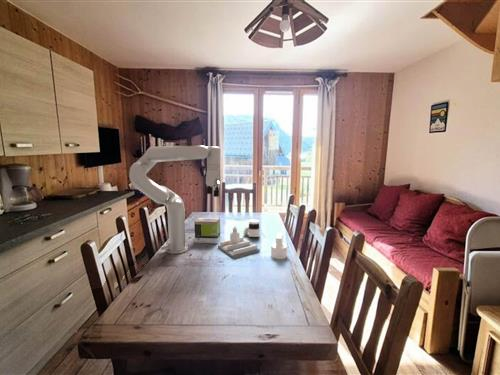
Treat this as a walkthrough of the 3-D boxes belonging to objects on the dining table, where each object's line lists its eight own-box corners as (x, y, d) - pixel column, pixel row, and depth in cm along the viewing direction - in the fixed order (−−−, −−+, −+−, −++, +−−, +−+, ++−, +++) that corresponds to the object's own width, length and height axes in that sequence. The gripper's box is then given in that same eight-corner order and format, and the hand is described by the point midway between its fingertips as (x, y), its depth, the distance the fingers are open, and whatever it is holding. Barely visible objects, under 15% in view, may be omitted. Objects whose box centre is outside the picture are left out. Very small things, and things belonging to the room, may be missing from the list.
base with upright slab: (286, 259, 144) (286, 239, 142) (270, 258, 145) (270, 237, 144) (287, 253, 152) (287, 233, 150) (272, 251, 154) (272, 232, 152)
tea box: (220, 238, 175) (220, 217, 173) (217, 244, 165) (217, 221, 163) (199, 237, 177) (198, 216, 174) (194, 243, 167) (193, 221, 165)
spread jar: (259, 239, 174) (259, 223, 172) (242, 239, 174) (242, 222, 172) (259, 233, 186) (259, 218, 184) (243, 233, 186) (243, 217, 184)
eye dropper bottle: (230, 243, 162) (230, 225, 160) (239, 243, 162) (239, 225, 160) (230, 246, 157) (230, 227, 156) (239, 246, 157) (239, 227, 155)
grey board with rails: (233, 258, 144) (233, 252, 143) (218, 247, 159) (218, 241, 159) (259, 251, 154) (259, 245, 153) (242, 241, 169) (242, 236, 169)
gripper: (201, 166, 159) (201, 193, 162) (213, 168, 145) (213, 198, 148) (212, 166, 164) (212, 192, 166) (225, 168, 149) (224, 197, 152)
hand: (212, 195), depth 157 cm, fingers open, 9 cm apart
